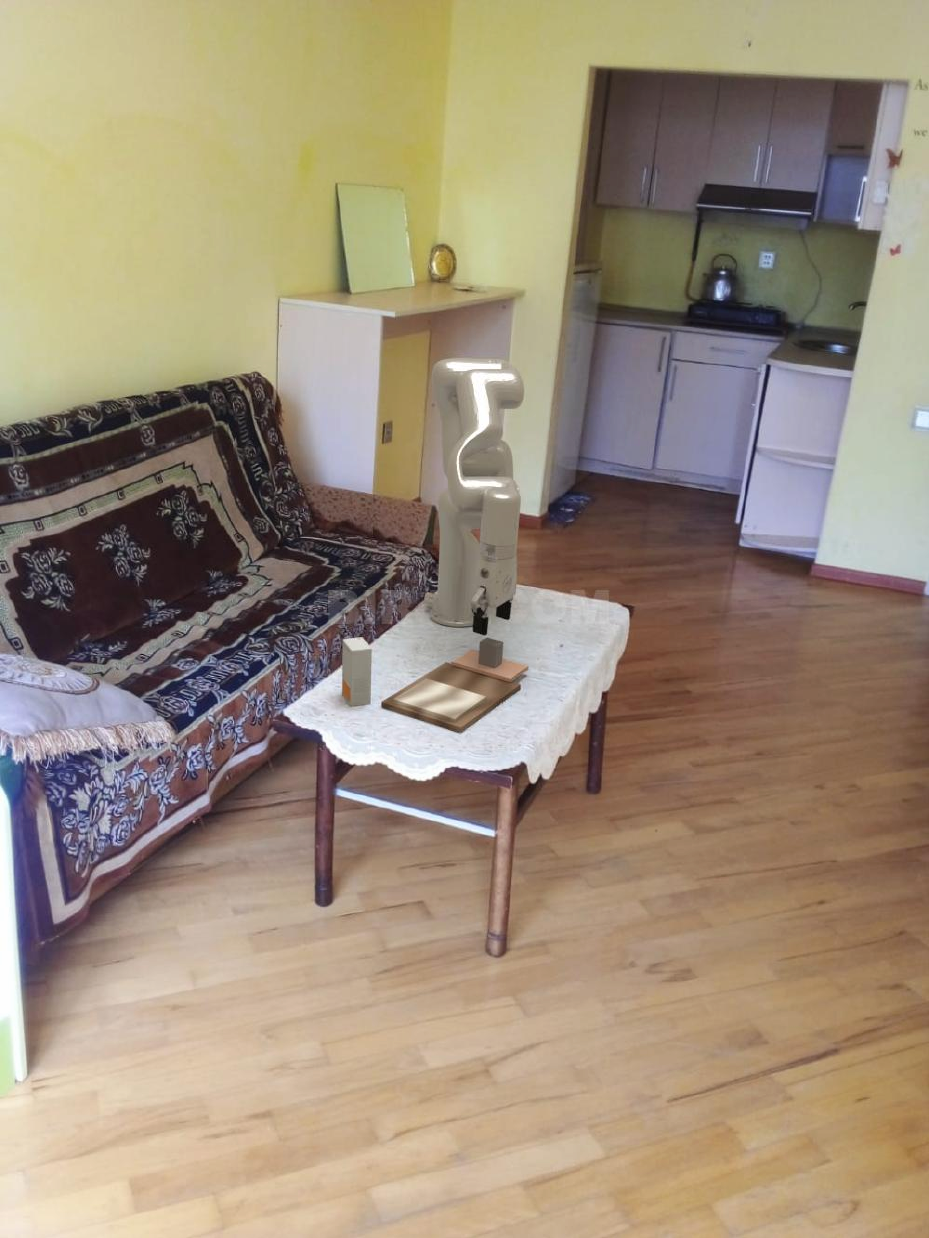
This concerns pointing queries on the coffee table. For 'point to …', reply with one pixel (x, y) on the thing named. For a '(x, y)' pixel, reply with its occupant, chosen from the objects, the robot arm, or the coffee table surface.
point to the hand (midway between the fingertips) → (491, 625)
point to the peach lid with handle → (490, 661)
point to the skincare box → (356, 671)
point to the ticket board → (451, 697)
